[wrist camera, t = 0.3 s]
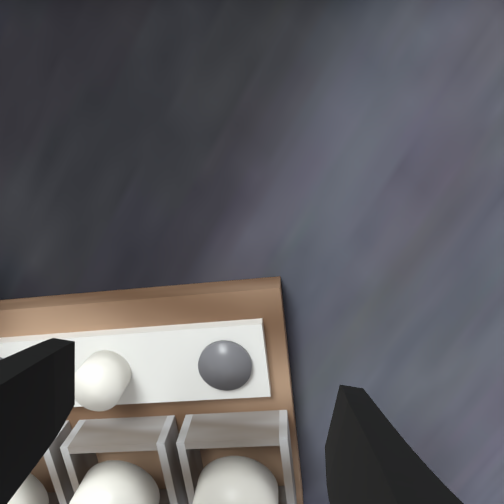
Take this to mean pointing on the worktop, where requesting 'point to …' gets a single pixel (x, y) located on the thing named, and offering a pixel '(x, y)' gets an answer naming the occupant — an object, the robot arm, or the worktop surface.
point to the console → (169, 413)
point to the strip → (163, 362)
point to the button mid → (116, 485)
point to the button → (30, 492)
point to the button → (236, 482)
